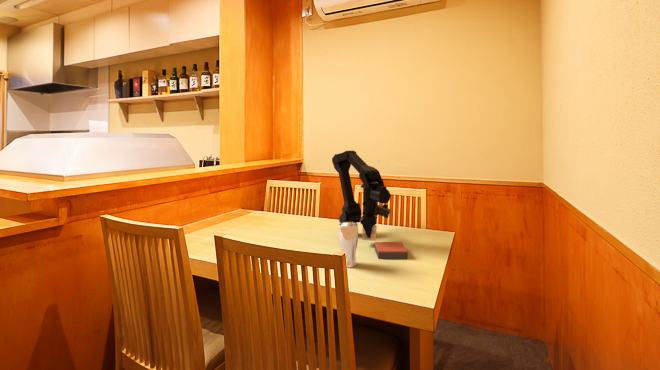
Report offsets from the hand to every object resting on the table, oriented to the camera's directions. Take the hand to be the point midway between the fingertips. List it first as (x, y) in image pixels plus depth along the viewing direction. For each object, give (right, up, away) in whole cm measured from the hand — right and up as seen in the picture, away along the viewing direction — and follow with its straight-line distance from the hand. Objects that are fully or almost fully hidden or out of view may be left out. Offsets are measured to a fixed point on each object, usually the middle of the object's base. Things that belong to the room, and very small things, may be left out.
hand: (369, 235), depth 140 cm
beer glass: (-10, -8, -21) cm, 24 cm away
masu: (0, -1, 0) cm, 1 cm away
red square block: (+7, -6, -10) cm, 13 cm away
